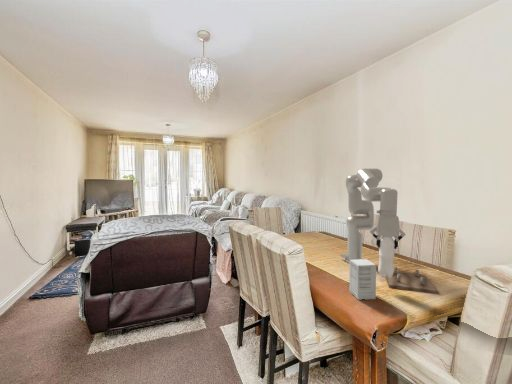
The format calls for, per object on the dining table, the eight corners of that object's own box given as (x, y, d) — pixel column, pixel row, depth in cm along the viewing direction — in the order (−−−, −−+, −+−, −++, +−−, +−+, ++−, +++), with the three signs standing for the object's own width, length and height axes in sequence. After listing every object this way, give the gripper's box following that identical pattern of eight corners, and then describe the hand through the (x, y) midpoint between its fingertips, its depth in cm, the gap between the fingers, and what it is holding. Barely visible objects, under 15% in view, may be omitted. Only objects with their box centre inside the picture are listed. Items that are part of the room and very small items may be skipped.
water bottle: (375, 272, 133) (376, 226, 131) (388, 272, 134) (389, 226, 132) (383, 278, 126) (384, 229, 124) (396, 278, 127) (398, 229, 125)
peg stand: (389, 287, 134) (389, 277, 133) (383, 272, 154) (383, 263, 154) (438, 293, 126) (438, 283, 126) (425, 277, 147) (425, 267, 146)
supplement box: (376, 299, 121) (377, 265, 120) (357, 300, 120) (358, 265, 119) (365, 290, 130) (366, 258, 129) (348, 291, 130) (349, 259, 129)
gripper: (370, 213, 127) (368, 248, 128) (409, 215, 121) (407, 251, 122) (368, 211, 134) (367, 244, 135) (406, 213, 128) (404, 247, 129)
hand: (386, 247), depth 129 cm, fingers closed on water bottle, 7 cm apart
